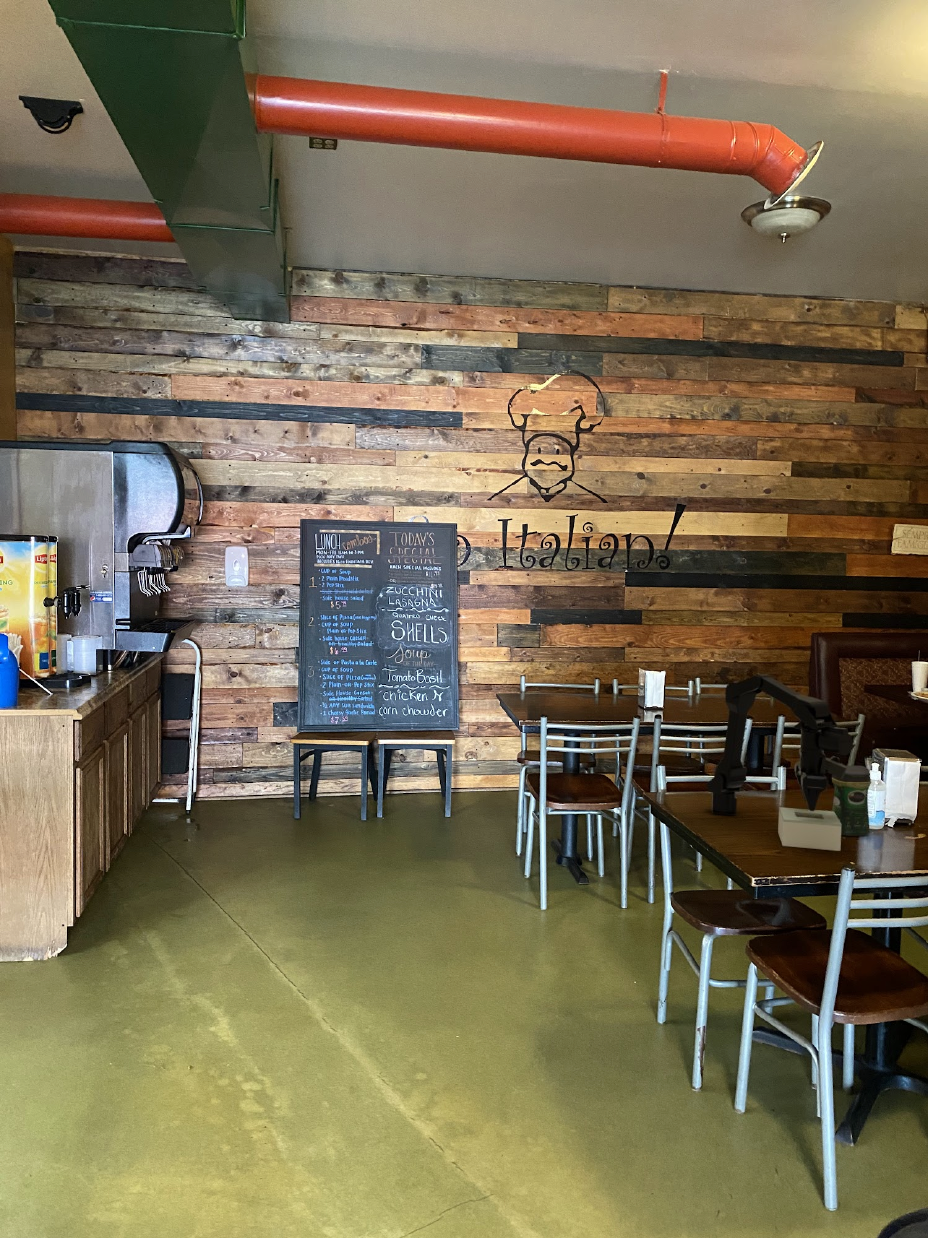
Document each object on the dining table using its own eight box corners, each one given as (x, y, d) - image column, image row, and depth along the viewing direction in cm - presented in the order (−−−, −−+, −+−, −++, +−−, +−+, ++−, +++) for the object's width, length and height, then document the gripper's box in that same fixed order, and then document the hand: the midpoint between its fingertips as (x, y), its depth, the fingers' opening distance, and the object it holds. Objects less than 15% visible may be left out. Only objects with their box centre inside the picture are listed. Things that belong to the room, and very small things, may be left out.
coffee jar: (859, 828, 244) (862, 763, 243) (873, 837, 236) (876, 769, 235) (825, 828, 244) (828, 762, 243) (838, 836, 236) (840, 769, 235)
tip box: (782, 845, 228) (783, 819, 227) (778, 832, 239) (779, 807, 239) (840, 851, 224) (841, 824, 224) (832, 837, 236) (834, 811, 235)
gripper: (851, 757, 219) (848, 818, 220) (838, 743, 237) (836, 799, 238) (804, 754, 222) (801, 814, 223) (795, 740, 240) (793, 796, 241)
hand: (809, 806), depth 231 cm, fingers open, 9 cm apart
